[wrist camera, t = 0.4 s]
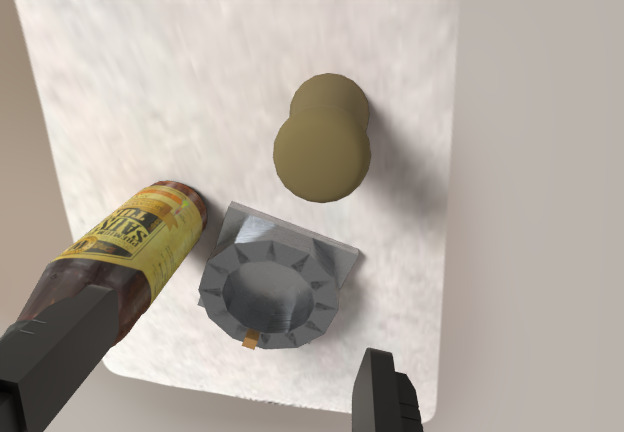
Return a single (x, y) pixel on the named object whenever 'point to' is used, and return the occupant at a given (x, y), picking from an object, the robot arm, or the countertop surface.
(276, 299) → the hub
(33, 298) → the sauce bottle
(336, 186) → the cork
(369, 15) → the countertop surface
